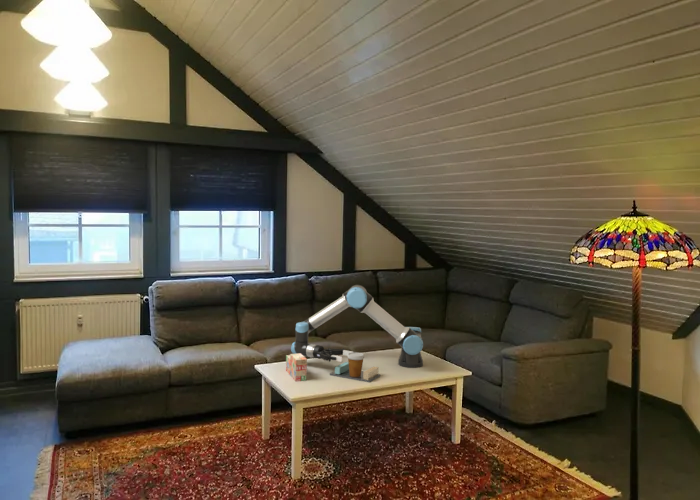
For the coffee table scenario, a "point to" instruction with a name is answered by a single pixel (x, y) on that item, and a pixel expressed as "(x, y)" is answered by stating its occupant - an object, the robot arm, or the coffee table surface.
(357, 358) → the disposable coffee cup
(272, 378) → the coffee table surface
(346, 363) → the bar
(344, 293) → the robot arm
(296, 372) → the stack of blocks
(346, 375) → the base
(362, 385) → the coffee table surface
